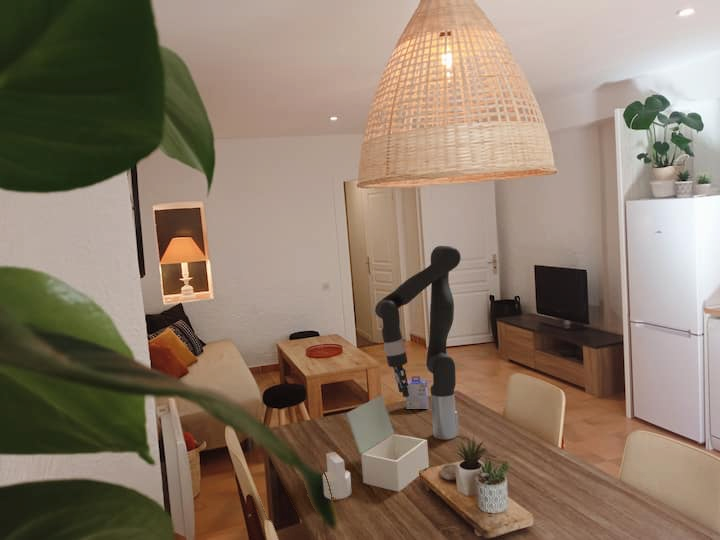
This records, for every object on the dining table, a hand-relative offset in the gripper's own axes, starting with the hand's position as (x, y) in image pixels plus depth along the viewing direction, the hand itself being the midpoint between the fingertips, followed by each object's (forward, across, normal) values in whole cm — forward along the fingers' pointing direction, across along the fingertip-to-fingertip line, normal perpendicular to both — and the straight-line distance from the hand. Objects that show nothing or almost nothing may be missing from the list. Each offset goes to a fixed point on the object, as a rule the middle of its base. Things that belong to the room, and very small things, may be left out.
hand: (404, 394), depth 222 cm
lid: (+3, -16, +15) cm, 22 cm away
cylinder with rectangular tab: (+20, -28, +32) cm, 46 cm away
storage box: (+21, -20, +11) cm, 31 cm away
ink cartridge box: (+19, +46, -11) cm, 51 cm away
